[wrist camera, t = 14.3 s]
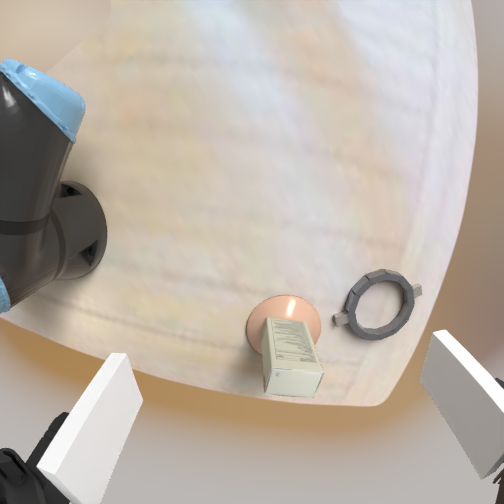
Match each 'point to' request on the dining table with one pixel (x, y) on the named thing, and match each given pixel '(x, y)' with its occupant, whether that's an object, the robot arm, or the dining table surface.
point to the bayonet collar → (361, 287)
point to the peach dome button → (282, 317)
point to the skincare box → (289, 359)
